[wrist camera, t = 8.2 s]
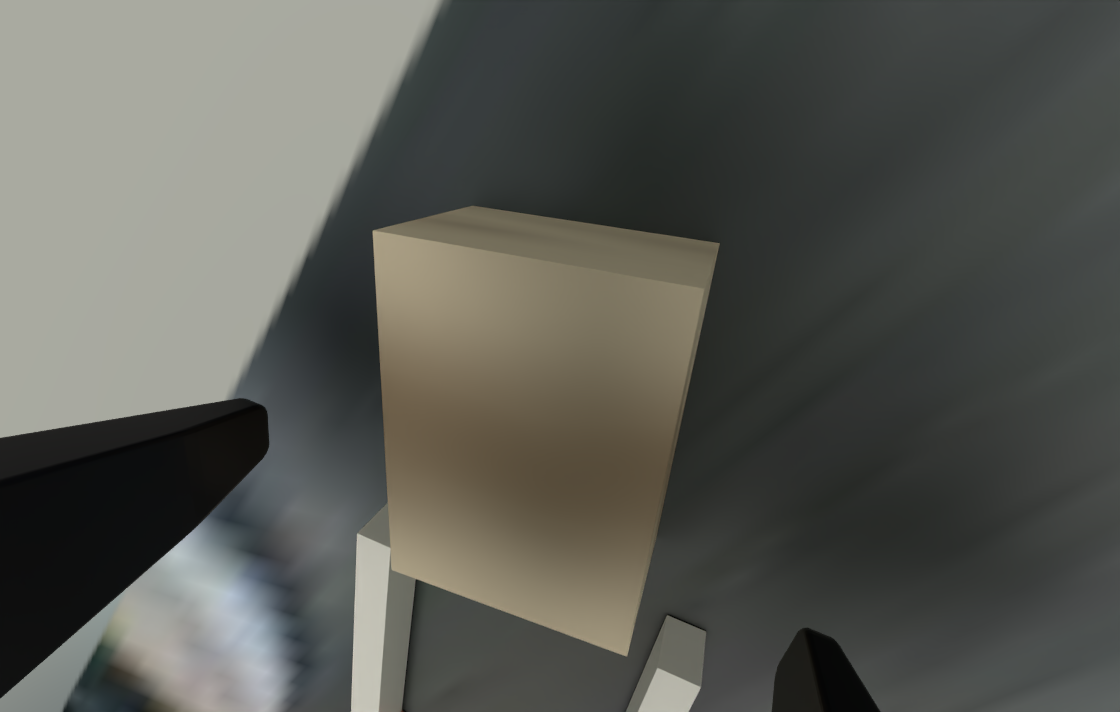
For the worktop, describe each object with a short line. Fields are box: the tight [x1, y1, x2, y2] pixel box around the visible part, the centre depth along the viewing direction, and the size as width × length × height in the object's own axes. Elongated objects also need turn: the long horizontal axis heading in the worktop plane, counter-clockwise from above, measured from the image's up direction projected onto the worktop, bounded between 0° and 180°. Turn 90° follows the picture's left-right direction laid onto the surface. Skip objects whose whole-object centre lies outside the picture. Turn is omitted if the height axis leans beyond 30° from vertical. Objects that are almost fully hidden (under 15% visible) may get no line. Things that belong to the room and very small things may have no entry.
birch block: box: [373, 206, 720, 657], centre depth 10 cm, size 7×5×4 cm
